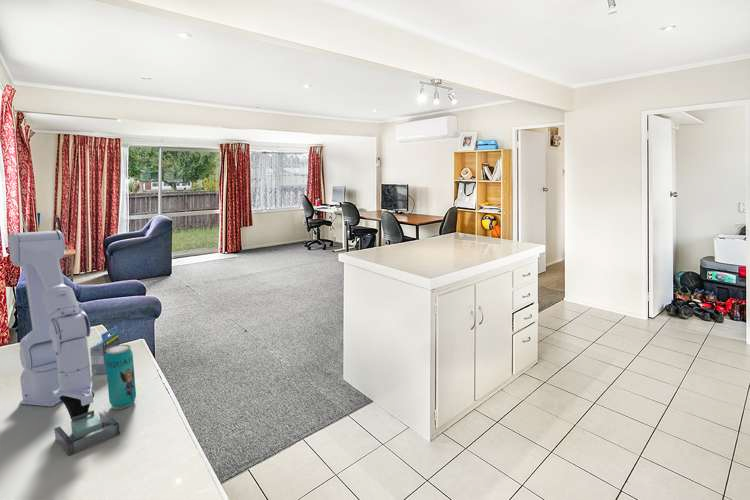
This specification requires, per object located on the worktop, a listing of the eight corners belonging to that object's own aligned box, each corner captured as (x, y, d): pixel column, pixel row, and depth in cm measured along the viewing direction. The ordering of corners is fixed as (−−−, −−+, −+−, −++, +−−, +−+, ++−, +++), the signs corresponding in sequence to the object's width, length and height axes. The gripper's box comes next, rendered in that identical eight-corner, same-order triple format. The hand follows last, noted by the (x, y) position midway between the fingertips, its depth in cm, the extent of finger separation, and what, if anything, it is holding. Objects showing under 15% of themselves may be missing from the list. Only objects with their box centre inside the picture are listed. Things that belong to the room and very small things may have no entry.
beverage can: (124, 411, 99) (118, 353, 96) (104, 409, 100) (98, 351, 98) (141, 400, 104) (137, 345, 102) (122, 397, 105) (118, 343, 103)
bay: (55, 439, 88) (54, 428, 87) (105, 419, 95) (104, 410, 95) (68, 455, 82) (67, 444, 82) (120, 434, 90) (119, 423, 89)
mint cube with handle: (72, 433, 90) (70, 417, 89) (96, 425, 93) (94, 409, 92) (78, 444, 86) (76, 427, 85) (102, 435, 89) (101, 418, 89)
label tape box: (108, 362, 127) (104, 325, 125) (121, 362, 127) (118, 324, 125) (91, 375, 118) (87, 335, 116) (106, 374, 118) (102, 334, 117)
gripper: (42, 364, 91) (48, 420, 93) (62, 383, 82) (69, 444, 84) (79, 354, 96) (84, 407, 98) (101, 371, 88) (107, 429, 90)
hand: (80, 423), depth 92 cm, fingers closed
